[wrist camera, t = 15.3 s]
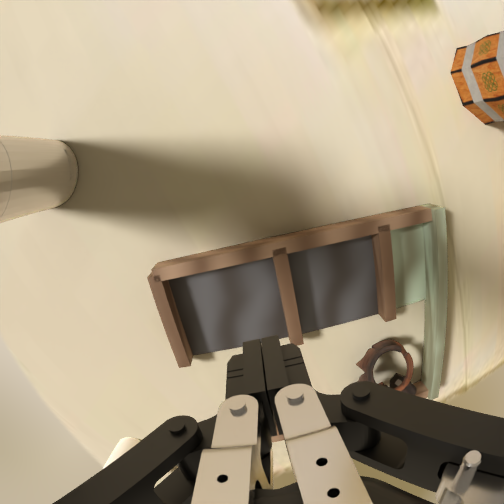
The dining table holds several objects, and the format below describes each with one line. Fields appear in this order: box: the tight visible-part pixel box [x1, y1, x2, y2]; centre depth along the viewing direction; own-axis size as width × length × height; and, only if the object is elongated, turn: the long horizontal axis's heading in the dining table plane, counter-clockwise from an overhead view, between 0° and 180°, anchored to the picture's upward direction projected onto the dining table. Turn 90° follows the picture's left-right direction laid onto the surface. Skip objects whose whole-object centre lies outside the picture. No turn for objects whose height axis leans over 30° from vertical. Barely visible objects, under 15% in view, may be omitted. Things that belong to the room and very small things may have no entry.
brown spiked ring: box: [356, 339, 417, 395], centre depth 43 cm, size 12×10×8 cm
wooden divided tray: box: [147, 204, 448, 442], centre depth 41 cm, size 38×31×4 cm
